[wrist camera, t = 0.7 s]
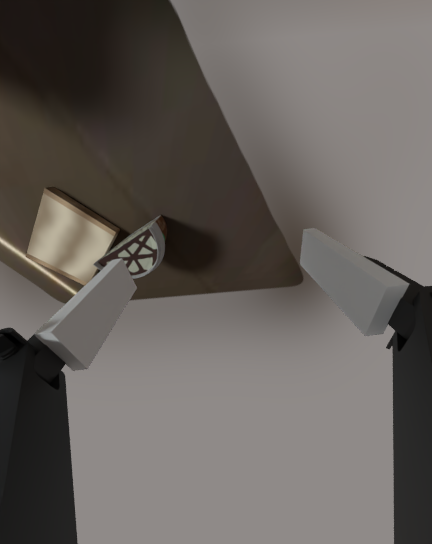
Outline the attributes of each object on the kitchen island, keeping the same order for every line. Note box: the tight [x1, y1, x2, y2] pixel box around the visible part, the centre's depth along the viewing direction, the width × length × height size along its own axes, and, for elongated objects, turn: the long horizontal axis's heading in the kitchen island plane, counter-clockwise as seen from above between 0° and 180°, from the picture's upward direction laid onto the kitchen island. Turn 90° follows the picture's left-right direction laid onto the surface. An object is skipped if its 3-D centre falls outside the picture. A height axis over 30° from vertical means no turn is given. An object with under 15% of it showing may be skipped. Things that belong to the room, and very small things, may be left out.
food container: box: [93, 215, 167, 279], centre depth 31 cm, size 12×6×10 cm, turn 120°
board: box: [26, 187, 120, 285], centre depth 34 cm, size 12×16×2 cm
